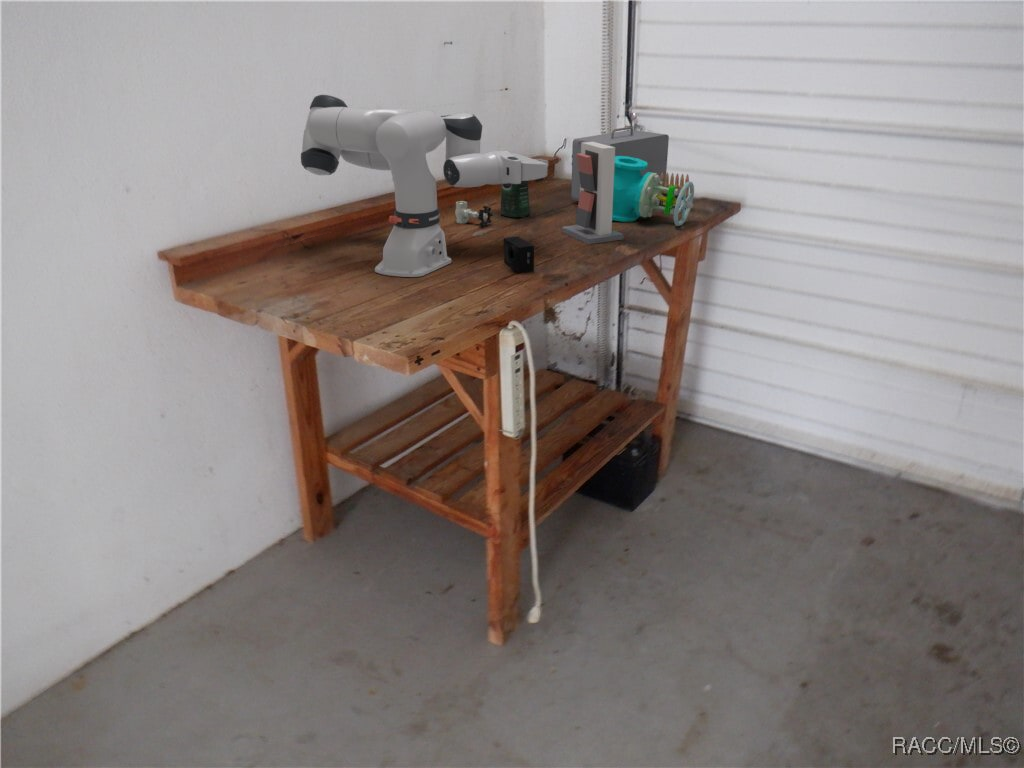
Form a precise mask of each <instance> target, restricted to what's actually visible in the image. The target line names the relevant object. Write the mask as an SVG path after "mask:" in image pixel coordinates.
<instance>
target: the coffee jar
mask: <svg viewBox="0 0 1024 768" xmlns="http://www.w3.org/2000/svg"><path fill="white" fill-rule="evenodd" d="M500 192H501V193H500V194H501V195H500V214H501V215H502V216H505V217H509V218H514V219H515V218H525V217H528V216H530V207H531V206H530V198H529V197H530V194H529V181H521V183H520V184H510V183H507V184H501V191H500Z"/></svg>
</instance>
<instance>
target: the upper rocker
mask: <svg viewBox="0 0 1024 768" xmlns="http://www.w3.org/2000/svg"><path fill="white" fill-rule="evenodd" d="M577 161H578V169H579V177H580V185H581V188H583V189H586V190H589V191H594V190H595V187H594V178H593V170H592V161H591V156H588V155H585V154H581V153H579V154H577Z"/></svg>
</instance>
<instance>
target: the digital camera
mask: <svg viewBox="0 0 1024 768" xmlns="http://www.w3.org/2000/svg"><path fill="white" fill-rule="evenodd" d="M503 263H504V264H505V265H507V266H508V267H510V268H512V269H513V270H514V271H516V272H518V273H519V274H523V273H530V272H534V271H535V245H533V244H532V243H529V242H528V241H526V240H524V239H523V238H521V237H519V236H510V237H504V238H503Z"/></svg>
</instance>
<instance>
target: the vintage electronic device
mask: <svg viewBox="0 0 1024 768" xmlns="http://www.w3.org/2000/svg"><path fill="white" fill-rule="evenodd" d="M669 140H670V138H669V135H668V134H665V133H657V132H656V133H655V132H649V131H643V130H636V129H635V130H634V128H633V126H626V127H618V128H613V129H612V130H611V132H609V133H603V134H602V133H601V134H597V135H596V134H595V135H592V136H585V137H578V138H574V139H573V141H572V146H571V147H572V150H571V152H572V153H571V154H572V155H571V193H570V194H571V195H570V196H571V200H573V201H577V202H579V197H580V177H579V169H578V161H577V154H579V153H581V143H583V142H596V143H600V144H604V145H608V146H612V147H615V156H626V157H633V158H638V159H641V160H643V161H646V162H647V164H648V168H646V169H644V170H640V171H641V174H642V176H644V175H645V174H646V173H647V172H651V173H657V174H658V175H659V176H660V177H661V173H662V172H663V175H664V184H665V177H666V174H667V170H668V169H667V168H668V154H669V143H670V142H669Z"/></svg>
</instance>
